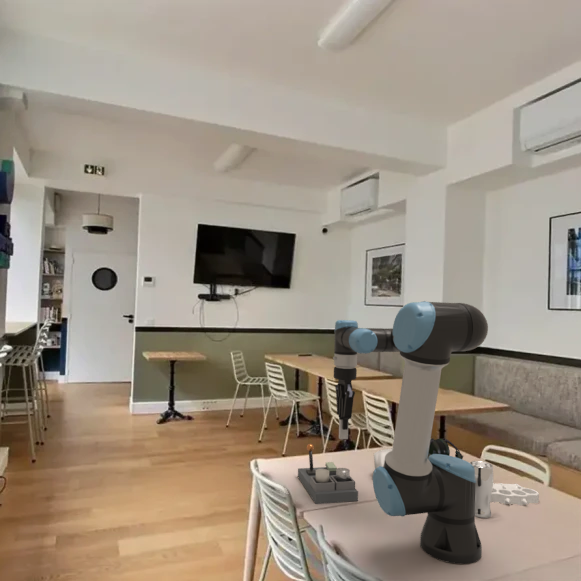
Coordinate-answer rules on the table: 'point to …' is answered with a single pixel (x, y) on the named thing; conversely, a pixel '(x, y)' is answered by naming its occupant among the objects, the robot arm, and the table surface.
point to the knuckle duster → (513, 494)
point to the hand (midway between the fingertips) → (343, 438)
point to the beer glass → (483, 488)
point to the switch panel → (327, 487)
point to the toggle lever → (310, 455)
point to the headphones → (442, 448)
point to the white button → (322, 475)
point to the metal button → (342, 474)
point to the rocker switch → (330, 466)
